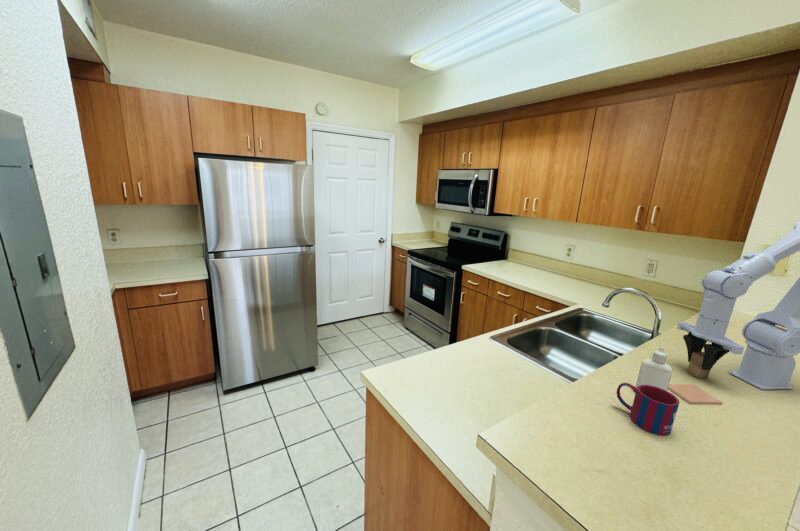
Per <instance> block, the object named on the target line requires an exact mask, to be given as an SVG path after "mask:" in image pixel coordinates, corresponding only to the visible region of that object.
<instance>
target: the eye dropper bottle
mask: <svg viewBox="0 0 800 531" xmlns="http://www.w3.org/2000/svg"><path fill="white" fill-rule="evenodd" d="M667 358H668V354H667V353H666V352H665V347H663V346H660V347H659V348H658V349H656V350H654V351H653V352H652V357H651V358H646V359H643V360H642V361H641V364H640V366H639V367H640V368H639V370H638V371H639V372H638V375H637V378H636V383H635V387H636V388H637V387H638V386H639V385H651V386H655V387H658V388H661V389H664V390H666V391H668V386H669V384H670V383H671V382H670V381H671V379H672V374H673V369H672V367H671V366H670V365H669V364H667V363H666V361H667Z"/></svg>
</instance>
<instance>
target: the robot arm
mask: <svg viewBox="0 0 800 531" xmlns="http://www.w3.org/2000/svg"><path fill="white" fill-rule="evenodd" d="M797 252H798V253H799V252H800V221H797V222H795V224H794V226H793V230H791V231H790V232H788V233H787V234H785V235H784V236H782V238H780V239H778V240H777V241H776V242H774V243H772V245H770V246H768V247H767V248H765V249H764V250H763V251H761V252H758V251H757V252H756V251H751V252H746V253H745V254H743V255H742V257H741V258H739V259H738V260H736V261H734V262H733V263H731V264H729V265H727V266H725V267H724V268H722V269H721V270H720V269H717V270H712V271H710V272H708V273H707V274H706V275H705V276H704V278H701V283H700V284H701V286H702V289H703V292H702V296H703V299H702V302H701V306H700V309H699V312H698V316H697V318H696V322H695V325H694V324H690V323H688V322H685V321H680V322H679V321H678V324H677V327H676V328H677V329H678V330H679V331H684V332H687V334H683V336H682V337H683V338H682V339H683V340H684V343H685V346H686V350H687V361H688V363H690V360H691V356H692V353H693V352H704V358H703V362H702V369H703V370H710V371H711V370H712V369H713V367H714V366H715V364H716V363H717V362H718V361H719V360H720V359H721V358H723V357H724V356H725V355H726V354H728V353H729V352H730V353H732V354H734V355H742V354H743V355H742V360H741V362H740V364H739V368H738V370H728V371H727V372H728V373H729V374H731V375H732V376H734V377H736V378H739V379H741V380H742V381H744V382H746V383H749V384H750V385H753V386H754V387H755V388H758V389H760V390H789V389H790V390H792V389H793V386H791V385H789V384H790V381H791V379H792V377H793V373H794V371H795V369H796V366H797V362H796V360H795V356H797V355H799V354H800V276H799V277H798V279H796V281H795V283H793V285H792V286H791V287H790V289H788V291H787V292H786V293H785V295H784V296H783V298H782V299H781V300H780V301H779V302H778V303H777V305H776V306H775V307H774V308H773V310H770V311H765V312H759V313H758V314H757V315H756V316H754V318H753V319H751V320H749V321H748V322H746V324H744V326H743V327H742V330H741V334H742V337H743V338H744V339H745V342H744V343H745V344H747V345H746V347H745V346H743V345H741V344H738V343H737V342H735V341H733V340H731V339H730V338H729V337H727V336H726V333H727V329H728V327H729V324H730V320H731V318H732V314H733V311H734V308H735V305H736V302H737V298H740V297H742V296H744V295H746V293H747V292H748V290H749V288H750V287H751V286H752V285H753V283H754V282H755V281H758V280H759V279H761V278H763V277H765V276H766V275H768V274H769V273H772V272H774V270H776V264H777V263H778V262H780V261H782V260H785V259H786V258H788V257H790V256H791V255H794V254H795V253H797ZM744 349H745V350H744Z"/></svg>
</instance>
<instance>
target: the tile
mask: <svg viewBox="0 0 800 531" xmlns="http://www.w3.org/2000/svg"><path fill="white" fill-rule="evenodd" d="M667 391H668V392H669V391H670V393H671V394H673V395H674V396H676V397H677V398H680V399H681V400H683V401H684V402H685V403H687V404H688V405H694V406H695V405H700V406H701V405H707V406H708V405H709V406H713V405H715V406H720V405H721V406H722V405H723V401H721V400H720V399H718V398H717V397H715V396H714V395H712V394H711V393H708V392H707V391H705V390H703V389H702V388H700V387H699V386H697V385H696V384H693V383H690V384H689V383H669V386H668V389H667Z"/></svg>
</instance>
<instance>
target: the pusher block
mask: <svg viewBox="0 0 800 531" xmlns="http://www.w3.org/2000/svg"><path fill="white" fill-rule="evenodd" d="M703 358H704V351H701V352H693V353H692V356H691V360H690V362H688V366H687V370H686V373H688V374H689V375H692V376H693V377H695V378H697V379H708V378H709V375H710V373H711V370H703V369H702V362H703Z"/></svg>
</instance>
